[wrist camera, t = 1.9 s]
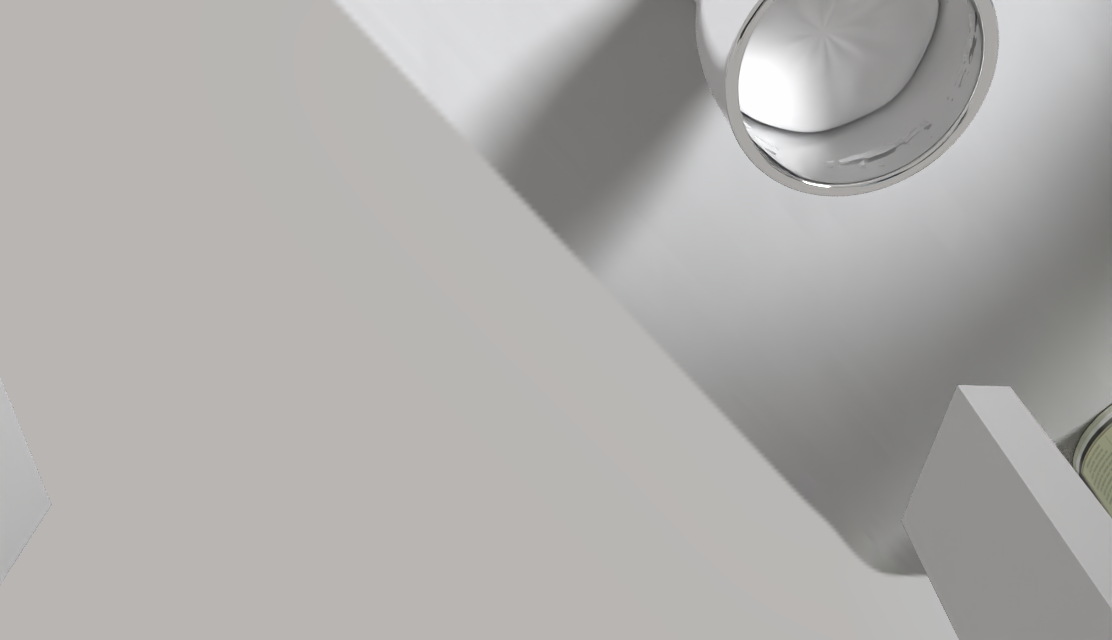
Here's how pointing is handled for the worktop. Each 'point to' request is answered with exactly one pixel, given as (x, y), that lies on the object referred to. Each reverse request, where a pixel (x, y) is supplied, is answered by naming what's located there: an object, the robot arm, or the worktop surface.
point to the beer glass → (846, 84)
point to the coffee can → (1097, 459)
